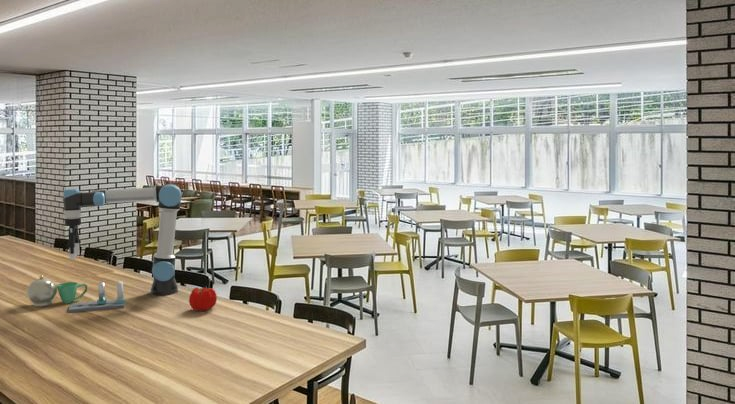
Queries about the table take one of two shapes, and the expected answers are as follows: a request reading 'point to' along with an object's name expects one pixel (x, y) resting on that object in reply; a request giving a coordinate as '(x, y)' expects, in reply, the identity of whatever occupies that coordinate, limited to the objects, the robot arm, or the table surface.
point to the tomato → (202, 299)
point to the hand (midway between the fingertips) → (74, 257)
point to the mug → (70, 291)
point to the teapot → (42, 292)
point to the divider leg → (101, 294)
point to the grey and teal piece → (94, 306)
